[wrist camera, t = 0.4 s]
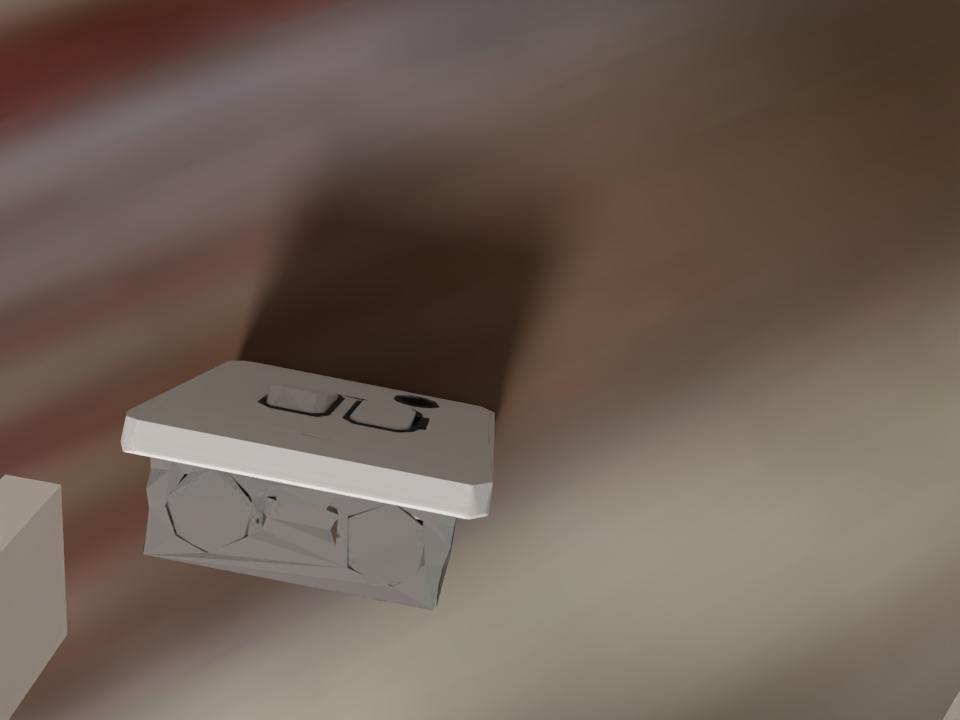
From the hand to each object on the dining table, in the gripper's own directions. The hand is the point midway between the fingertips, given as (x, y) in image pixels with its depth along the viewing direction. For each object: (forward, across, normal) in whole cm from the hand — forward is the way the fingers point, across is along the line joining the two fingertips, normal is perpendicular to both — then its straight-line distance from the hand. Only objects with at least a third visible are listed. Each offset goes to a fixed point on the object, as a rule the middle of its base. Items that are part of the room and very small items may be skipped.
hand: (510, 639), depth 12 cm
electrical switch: (+16, +4, +8) cm, 18 cm away
